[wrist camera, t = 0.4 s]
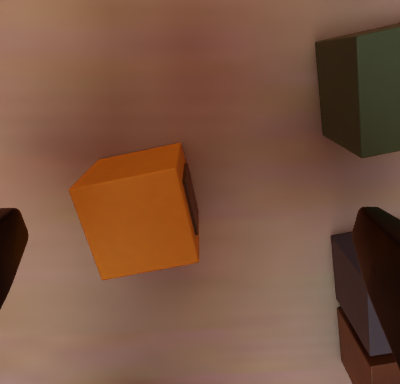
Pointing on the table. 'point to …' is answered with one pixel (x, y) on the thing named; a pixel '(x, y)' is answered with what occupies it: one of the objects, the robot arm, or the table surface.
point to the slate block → (356, 296)
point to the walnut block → (364, 358)
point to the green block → (361, 90)
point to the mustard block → (139, 212)
